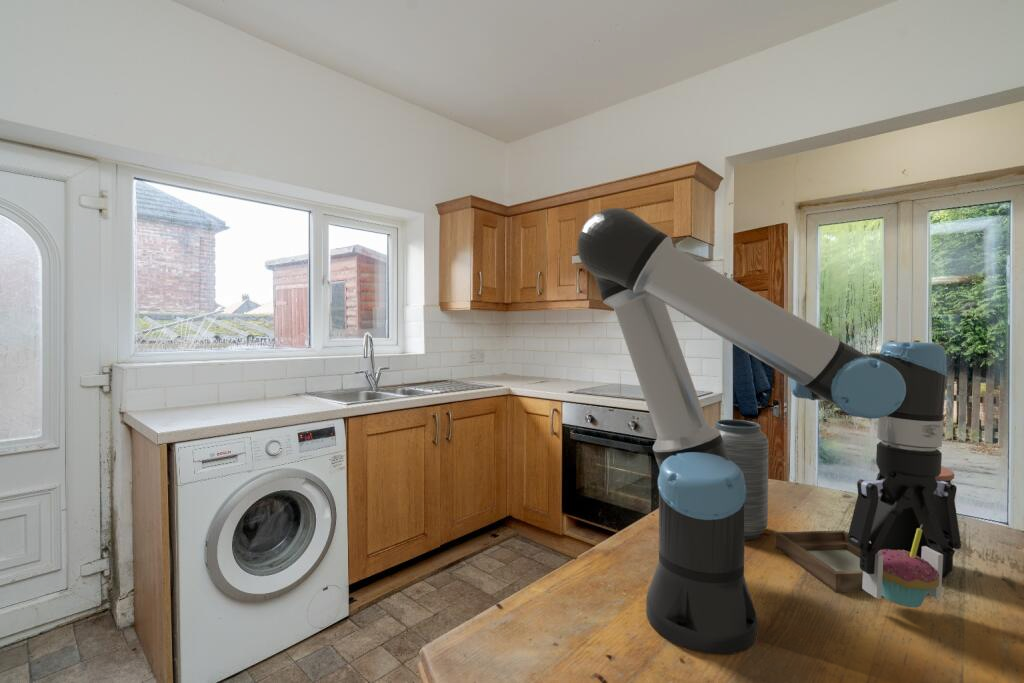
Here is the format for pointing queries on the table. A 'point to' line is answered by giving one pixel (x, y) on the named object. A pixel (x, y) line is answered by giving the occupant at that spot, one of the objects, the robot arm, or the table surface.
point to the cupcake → (907, 575)
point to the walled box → (825, 557)
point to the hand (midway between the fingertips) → (900, 592)
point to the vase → (749, 469)
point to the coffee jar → (913, 529)
